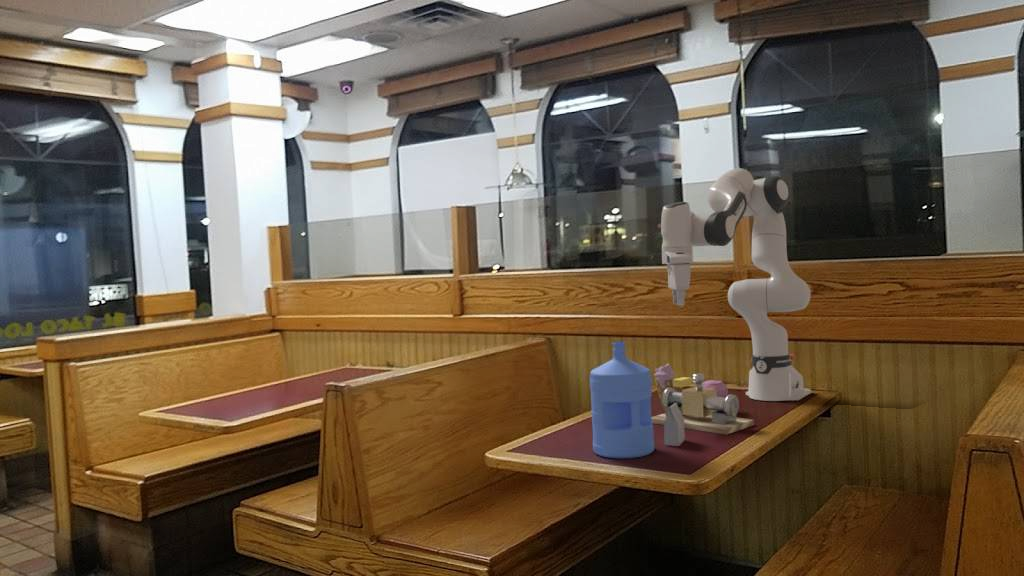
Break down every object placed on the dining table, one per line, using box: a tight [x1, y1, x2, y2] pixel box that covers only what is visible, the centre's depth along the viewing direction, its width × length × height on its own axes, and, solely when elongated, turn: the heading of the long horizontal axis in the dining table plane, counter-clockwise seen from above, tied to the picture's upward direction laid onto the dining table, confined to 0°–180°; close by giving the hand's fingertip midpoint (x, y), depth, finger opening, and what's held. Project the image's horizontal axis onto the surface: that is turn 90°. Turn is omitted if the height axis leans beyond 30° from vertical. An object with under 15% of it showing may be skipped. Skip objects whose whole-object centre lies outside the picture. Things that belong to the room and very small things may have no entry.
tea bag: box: [663, 403, 686, 447], centre depth 219 cm, size 4×7×10 cm, turn 155°
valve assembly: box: [651, 382, 755, 436], centre depth 239 cm, size 14×26×12 cm, turn 43°
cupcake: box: [702, 379, 729, 398], centre depth 254 cm, size 9×9×10 cm
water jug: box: [589, 341, 655, 459], centre depth 212 cm, size 16×16×28 cm
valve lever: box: [673, 373, 706, 388], centre depth 236 cm, size 12×3×2 cm, turn 133°
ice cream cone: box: [653, 362, 675, 412], centre depth 259 cm, size 7×6×15 cm
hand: (678, 305), depth 243 cm, fingers open, 8 cm apart
